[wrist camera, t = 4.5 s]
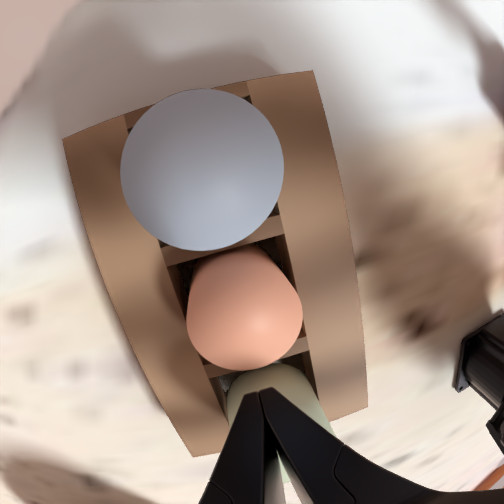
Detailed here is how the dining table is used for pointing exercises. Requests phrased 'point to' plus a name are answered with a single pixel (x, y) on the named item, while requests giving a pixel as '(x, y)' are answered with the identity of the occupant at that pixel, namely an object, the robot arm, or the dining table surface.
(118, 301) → the wooden compartment tray
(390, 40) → the dining table surface
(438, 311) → the dining table surface
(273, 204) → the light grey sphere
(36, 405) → the dining table surface
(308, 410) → the pale green rounded cube
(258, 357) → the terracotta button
